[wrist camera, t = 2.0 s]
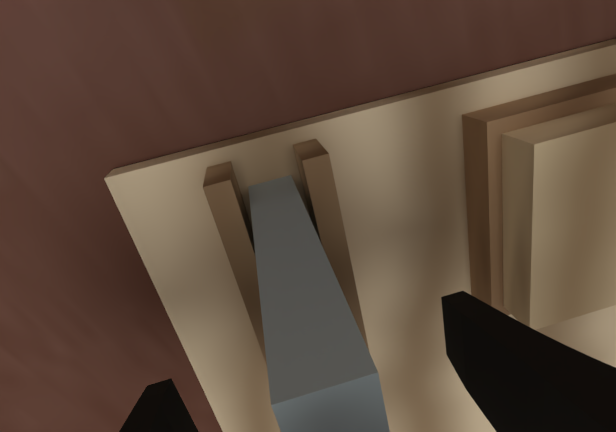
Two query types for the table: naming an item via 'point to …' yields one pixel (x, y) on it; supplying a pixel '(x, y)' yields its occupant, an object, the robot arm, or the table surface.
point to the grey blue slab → (308, 324)
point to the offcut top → (560, 217)
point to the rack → (342, 240)
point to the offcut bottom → (488, 171)
